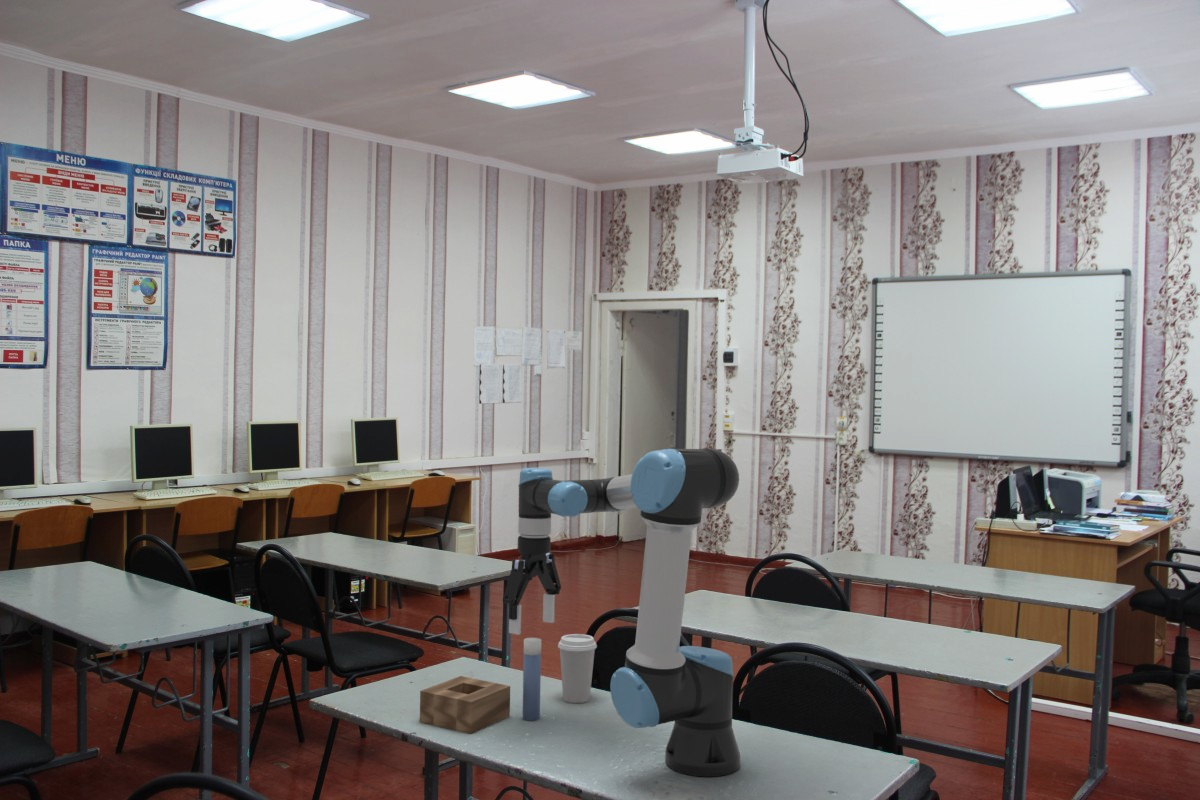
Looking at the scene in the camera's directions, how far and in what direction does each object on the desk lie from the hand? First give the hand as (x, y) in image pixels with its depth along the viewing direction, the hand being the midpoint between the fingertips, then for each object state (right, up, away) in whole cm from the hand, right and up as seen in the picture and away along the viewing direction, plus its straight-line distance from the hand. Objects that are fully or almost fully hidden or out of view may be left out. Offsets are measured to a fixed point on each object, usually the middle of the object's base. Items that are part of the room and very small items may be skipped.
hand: (532, 627), depth 229 cm
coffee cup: (+10, -21, +15) cm, 28 cm away
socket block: (-15, -20, -2) cm, 25 cm away
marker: (0, -21, 0) cm, 21 cm away
